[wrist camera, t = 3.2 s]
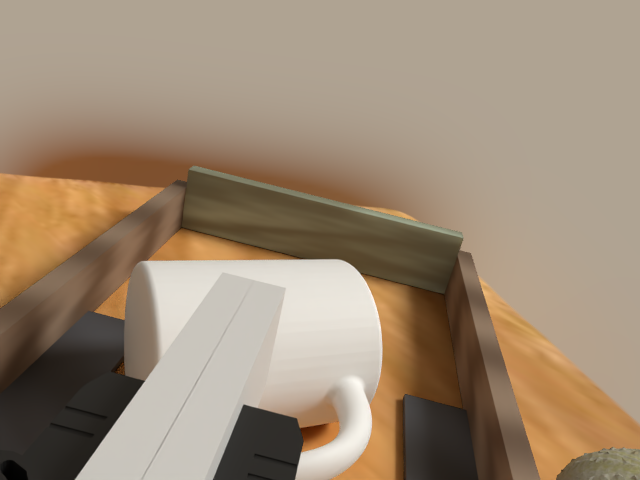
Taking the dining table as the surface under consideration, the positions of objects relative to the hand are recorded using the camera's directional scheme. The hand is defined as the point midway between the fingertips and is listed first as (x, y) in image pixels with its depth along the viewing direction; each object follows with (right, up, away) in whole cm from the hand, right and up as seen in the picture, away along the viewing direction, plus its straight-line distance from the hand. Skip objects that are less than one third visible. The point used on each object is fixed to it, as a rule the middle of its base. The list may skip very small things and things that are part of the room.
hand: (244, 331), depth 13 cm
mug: (-2, -7, +13) cm, 15 cm away
